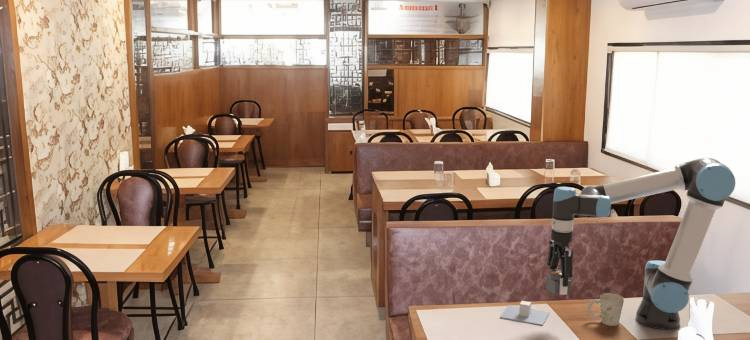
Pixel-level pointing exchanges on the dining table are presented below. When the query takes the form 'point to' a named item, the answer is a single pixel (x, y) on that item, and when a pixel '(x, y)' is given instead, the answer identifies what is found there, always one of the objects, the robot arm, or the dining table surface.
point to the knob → (555, 282)
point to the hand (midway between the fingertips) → (558, 290)
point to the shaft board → (531, 319)
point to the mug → (608, 308)
